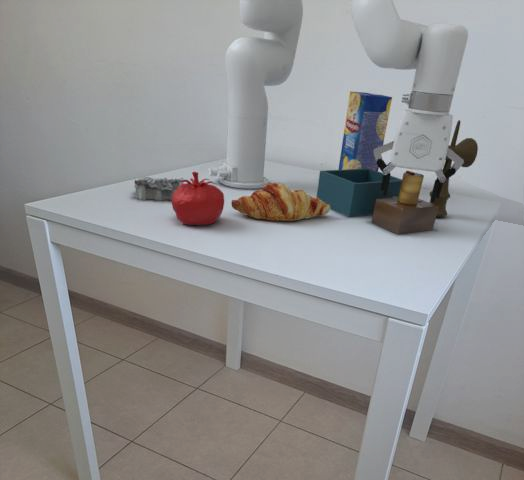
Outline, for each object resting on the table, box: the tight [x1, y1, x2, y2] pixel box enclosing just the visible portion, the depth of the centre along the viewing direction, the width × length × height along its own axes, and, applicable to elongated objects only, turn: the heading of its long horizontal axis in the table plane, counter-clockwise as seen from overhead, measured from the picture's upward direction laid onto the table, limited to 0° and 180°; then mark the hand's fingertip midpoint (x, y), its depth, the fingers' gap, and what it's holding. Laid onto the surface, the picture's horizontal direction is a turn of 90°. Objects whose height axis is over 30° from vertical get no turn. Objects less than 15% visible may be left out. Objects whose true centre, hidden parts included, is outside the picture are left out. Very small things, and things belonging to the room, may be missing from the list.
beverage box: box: [337, 91, 393, 172], centre depth 126 cm, size 7×11×22 cm, turn 11°
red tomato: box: [171, 171, 225, 226], centre depth 92 cm, size 10×10×9 cm
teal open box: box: [316, 168, 402, 218], centre depth 111 cm, size 15×13×7 cm
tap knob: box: [398, 170, 425, 205], centre depth 98 cm, size 4×4×6 cm
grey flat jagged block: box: [134, 176, 185, 201], centre depth 107 cm, size 11×8×4 cm
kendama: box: [429, 119, 479, 218], centre depth 106 cm, size 6×10×20 cm, turn 109°
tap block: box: [371, 196, 439, 235], centre depth 101 cm, size 10×8×5 cm
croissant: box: [230, 182, 331, 222], centre depth 100 cm, size 21×10×8 cm, turn 103°
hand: (408, 197), depth 99 cm, fingers open, 9 cm apart
